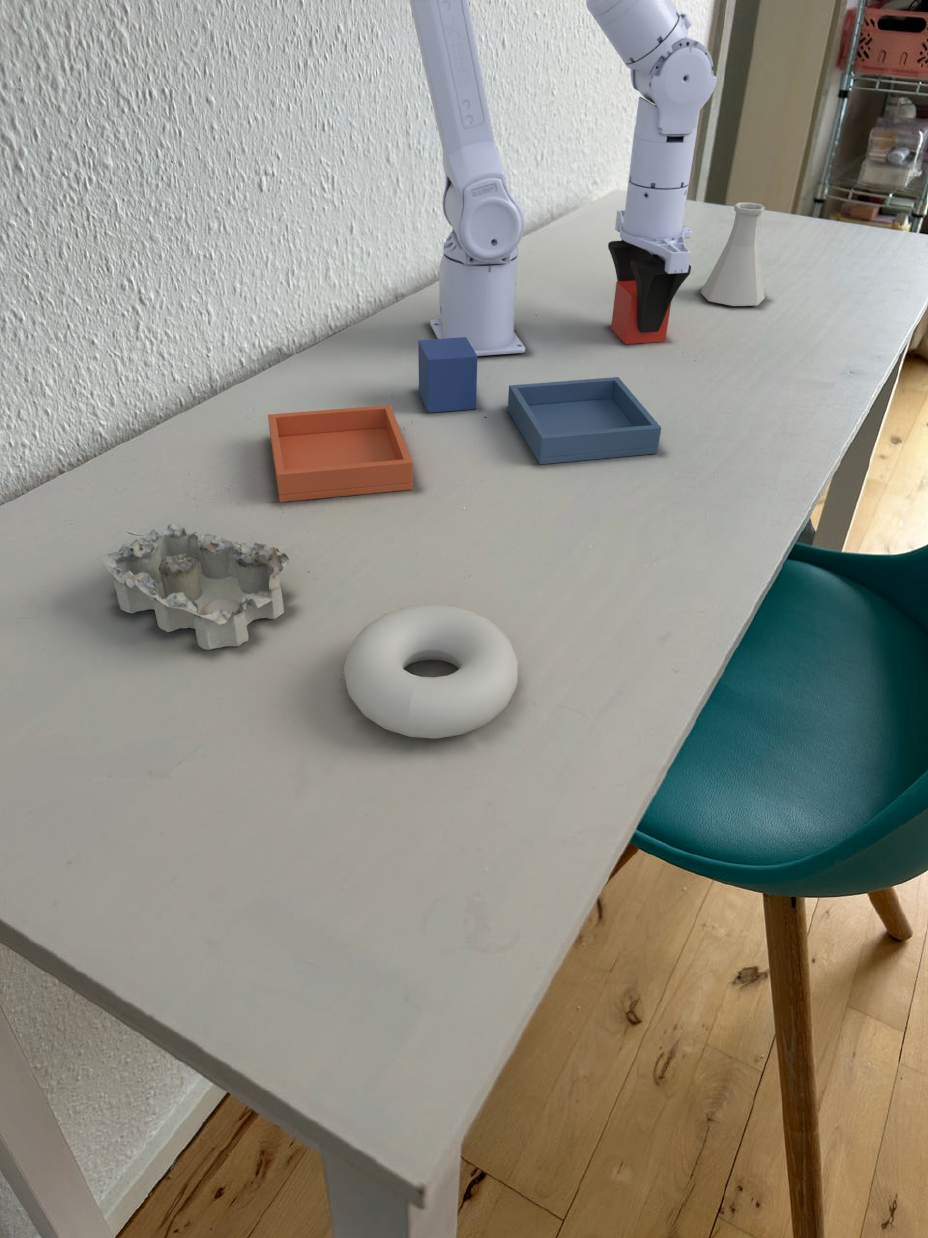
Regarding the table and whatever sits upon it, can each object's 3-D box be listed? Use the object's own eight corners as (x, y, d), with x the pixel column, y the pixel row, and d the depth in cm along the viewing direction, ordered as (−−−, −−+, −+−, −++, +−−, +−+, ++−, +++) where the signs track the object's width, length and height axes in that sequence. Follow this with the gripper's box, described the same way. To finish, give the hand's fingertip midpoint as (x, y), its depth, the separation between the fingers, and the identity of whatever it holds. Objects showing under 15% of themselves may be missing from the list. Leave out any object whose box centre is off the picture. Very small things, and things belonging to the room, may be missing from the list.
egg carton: (302, 606, 62) (297, 554, 59) (216, 667, 57) (206, 613, 54) (189, 550, 66) (179, 499, 64) (100, 602, 61) (86, 549, 59)
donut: (505, 635, 60) (345, 638, 59) (509, 590, 58) (343, 593, 57) (527, 749, 52) (343, 755, 51) (532, 703, 50) (340, 708, 49)
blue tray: (507, 410, 85) (508, 385, 84) (615, 401, 87) (618, 376, 85) (539, 464, 77) (541, 437, 76) (657, 453, 79) (661, 427, 78)
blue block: (418, 392, 88) (418, 339, 85) (465, 388, 88) (466, 336, 85) (427, 413, 84) (427, 359, 81) (476, 409, 85) (477, 355, 82)
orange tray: (270, 440, 80) (267, 414, 78) (391, 430, 81) (390, 404, 80) (279, 502, 72) (276, 474, 70) (412, 489, 74) (412, 462, 72)
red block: (610, 328, 101) (616, 281, 98) (649, 326, 102) (656, 278, 99) (625, 344, 98) (631, 295, 95) (665, 341, 99) (672, 293, 96)
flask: (765, 311, 106) (786, 217, 100) (699, 305, 107) (716, 211, 101) (762, 289, 112) (782, 199, 106) (700, 284, 113) (715, 194, 107)
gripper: (730, 200, 86) (704, 345, 94) (668, 162, 97) (649, 295, 105) (657, 203, 85) (637, 350, 93) (602, 164, 96) (589, 299, 104)
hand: (639, 321), depth 99 cm, fingers open, 4 cm apart
